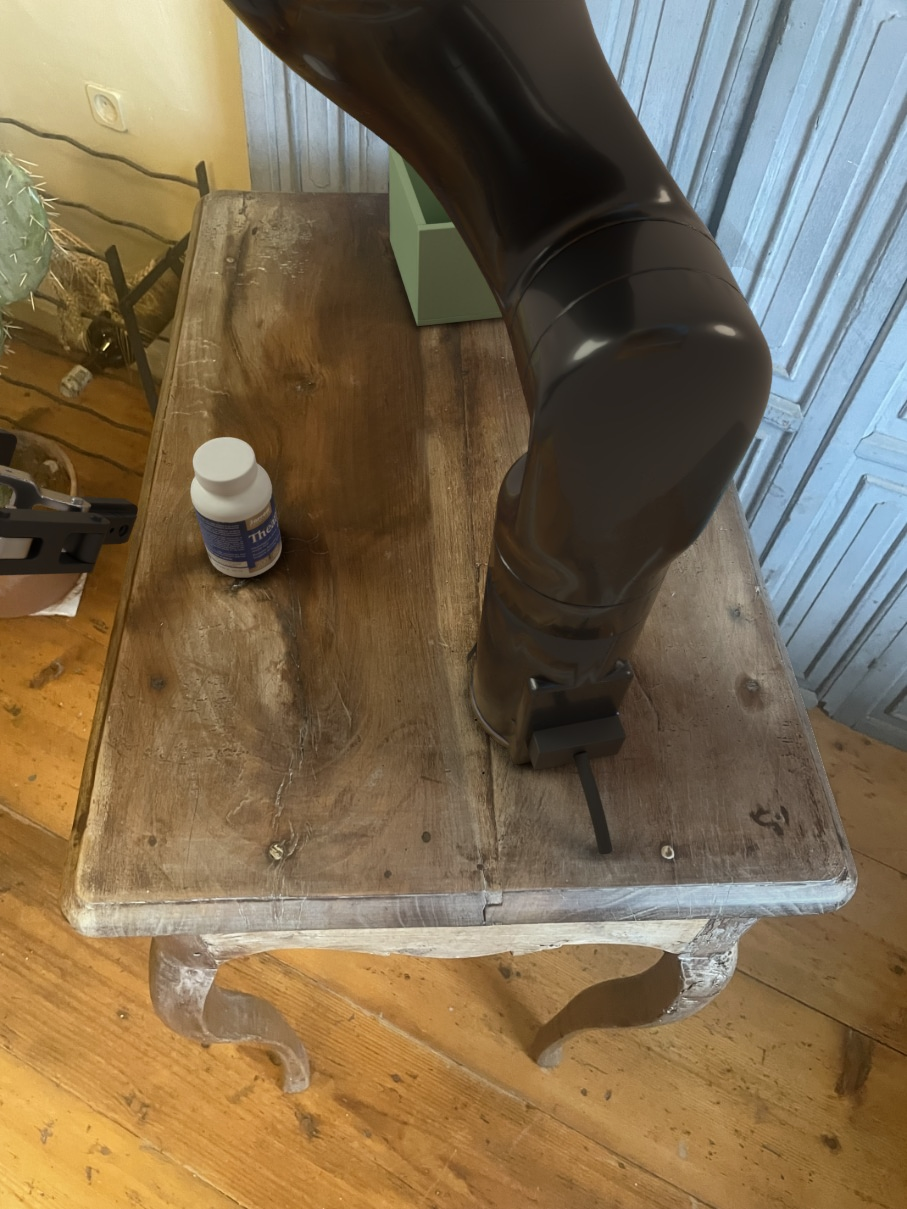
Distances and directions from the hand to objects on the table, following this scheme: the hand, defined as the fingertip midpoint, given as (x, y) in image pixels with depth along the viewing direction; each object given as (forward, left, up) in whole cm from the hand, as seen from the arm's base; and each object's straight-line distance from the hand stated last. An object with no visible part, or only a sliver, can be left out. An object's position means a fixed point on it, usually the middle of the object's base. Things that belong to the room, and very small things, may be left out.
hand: (66, 485), depth 45 cm
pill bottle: (+7, -7, -17) cm, 20 cm away
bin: (+37, -31, -17) cm, 52 cm away
